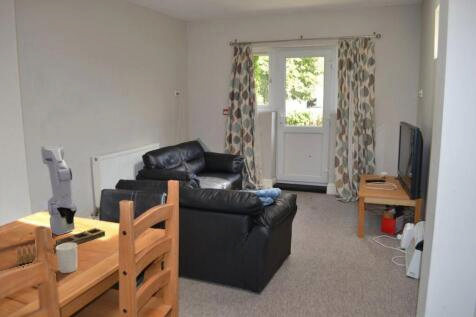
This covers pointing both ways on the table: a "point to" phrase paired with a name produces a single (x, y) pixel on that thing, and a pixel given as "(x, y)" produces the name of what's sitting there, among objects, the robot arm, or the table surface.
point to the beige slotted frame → (85, 236)
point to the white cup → (67, 257)
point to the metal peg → (66, 224)
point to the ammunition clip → (25, 259)
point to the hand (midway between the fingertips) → (67, 222)
